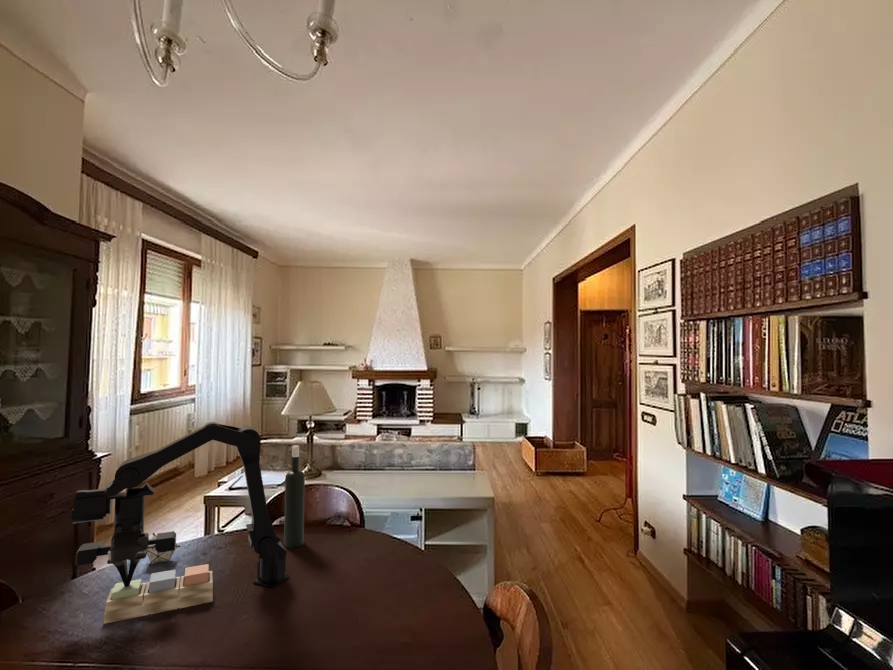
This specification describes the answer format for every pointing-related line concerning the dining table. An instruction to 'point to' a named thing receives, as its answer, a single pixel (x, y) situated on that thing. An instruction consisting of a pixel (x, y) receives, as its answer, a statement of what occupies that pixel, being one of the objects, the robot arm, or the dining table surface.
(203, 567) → the terracotta button
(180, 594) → the console
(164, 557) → the game die
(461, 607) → the dining table surface
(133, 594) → the sage button
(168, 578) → the slate button
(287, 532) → the wine bottle
